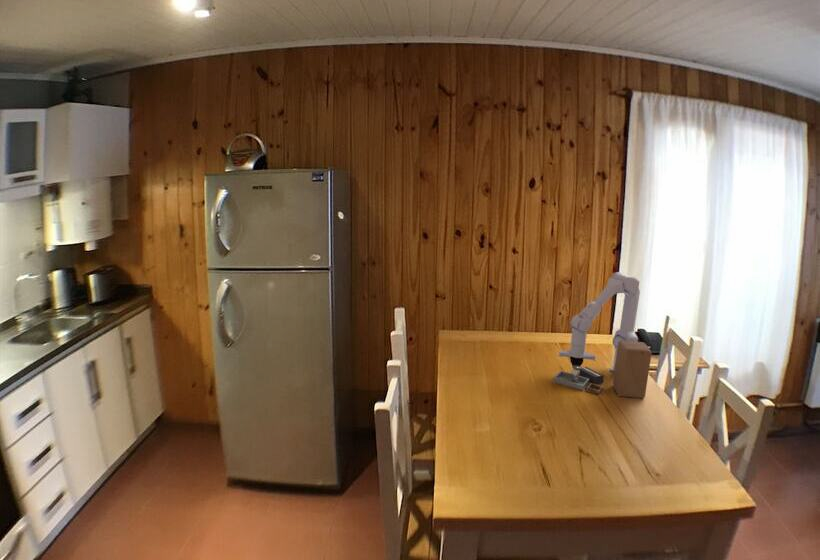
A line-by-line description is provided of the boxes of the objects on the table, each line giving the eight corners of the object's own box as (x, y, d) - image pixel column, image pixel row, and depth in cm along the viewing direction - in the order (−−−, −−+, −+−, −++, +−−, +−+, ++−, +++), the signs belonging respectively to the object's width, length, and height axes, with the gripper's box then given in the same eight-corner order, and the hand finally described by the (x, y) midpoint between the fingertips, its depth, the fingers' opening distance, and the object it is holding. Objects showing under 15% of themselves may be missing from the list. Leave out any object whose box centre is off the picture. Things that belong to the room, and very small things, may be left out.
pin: (579, 382, 185) (582, 366, 183) (576, 384, 183) (578, 369, 181) (572, 379, 188) (574, 363, 186) (568, 381, 185) (571, 366, 183)
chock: (602, 383, 186) (603, 374, 185) (595, 385, 184) (596, 377, 183) (585, 374, 194) (586, 366, 193) (578, 376, 192) (578, 368, 191)
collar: (602, 389, 180) (603, 386, 180) (599, 394, 176) (599, 391, 176) (589, 386, 183) (590, 382, 183) (586, 390, 179) (586, 387, 179)
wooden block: (645, 399, 173) (652, 351, 168) (617, 396, 175) (624, 349, 170) (638, 387, 182) (644, 341, 178) (611, 385, 184) (617, 339, 180)
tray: (588, 383, 185) (589, 378, 185) (582, 391, 179) (583, 386, 178) (560, 375, 192) (560, 370, 192) (553, 382, 186) (553, 377, 186)
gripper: (595, 342, 191) (592, 371, 194) (559, 338, 195) (556, 367, 198) (597, 348, 184) (593, 378, 188) (560, 344, 188) (557, 374, 191)
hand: (574, 373), depth 192 cm, fingers closed
